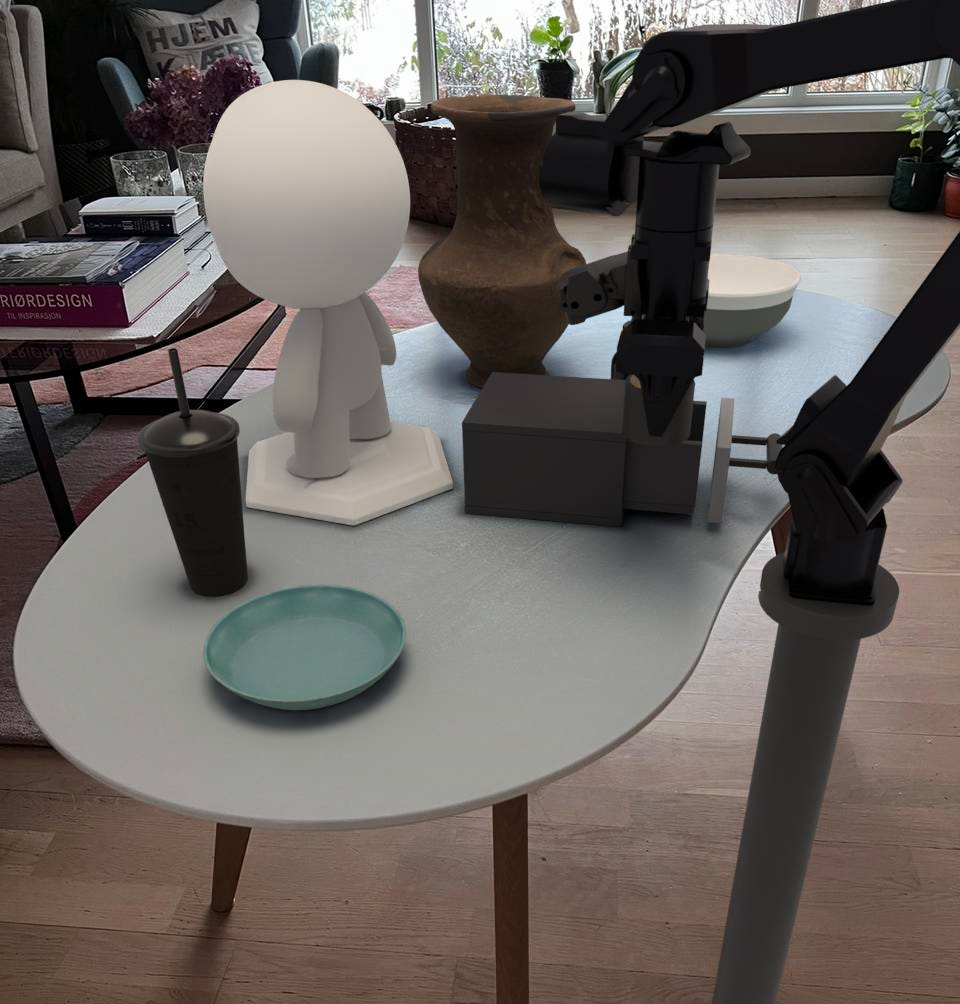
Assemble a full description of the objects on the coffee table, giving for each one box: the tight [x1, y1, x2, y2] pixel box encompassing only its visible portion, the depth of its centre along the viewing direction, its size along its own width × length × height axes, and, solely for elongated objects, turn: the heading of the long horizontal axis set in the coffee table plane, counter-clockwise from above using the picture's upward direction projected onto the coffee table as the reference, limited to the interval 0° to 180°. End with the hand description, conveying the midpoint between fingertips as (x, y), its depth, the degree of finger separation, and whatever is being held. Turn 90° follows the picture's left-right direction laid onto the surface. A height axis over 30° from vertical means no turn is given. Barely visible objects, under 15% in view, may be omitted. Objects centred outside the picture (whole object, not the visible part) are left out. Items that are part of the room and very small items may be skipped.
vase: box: [417, 93, 587, 388], centre depth 116 cm, size 19×19×30 cm
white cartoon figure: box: [202, 79, 454, 526], centre depth 93 cm, size 20×23×35 cm
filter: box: [622, 374, 696, 447], centre depth 84 cm, size 6×6×5 cm
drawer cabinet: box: [461, 372, 627, 528], centre depth 97 cm, size 15×13×9 cm
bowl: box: [703, 253, 802, 348], centre depth 132 cm, size 19×19×8 cm
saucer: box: [202, 584, 407, 711], centre depth 75 cm, size 15×15×3 cm
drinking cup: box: [137, 347, 249, 597], centre depth 81 cm, size 8×8×20 cm
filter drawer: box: [623, 397, 784, 524], centre depth 94 cm, size 18×11×7 cm, turn 77°
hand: (657, 421), depth 85 cm, fingers closed on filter, 5 cm apart
